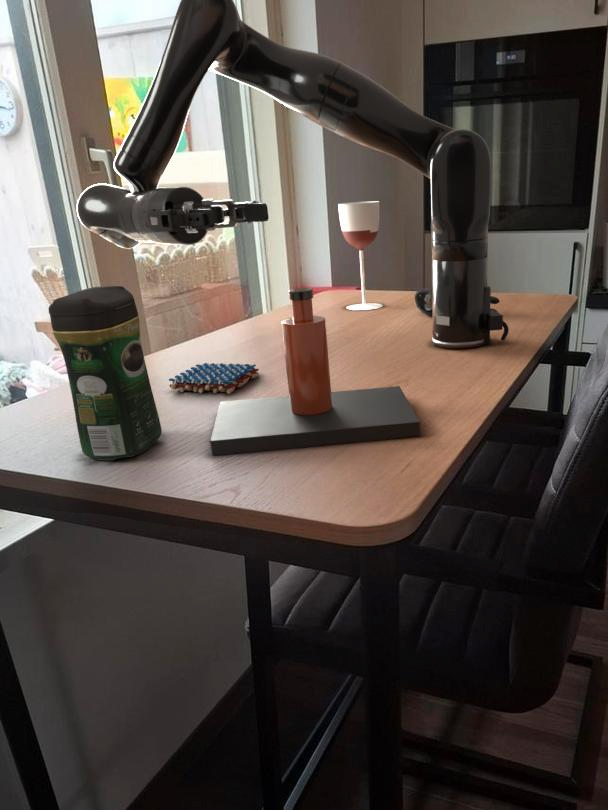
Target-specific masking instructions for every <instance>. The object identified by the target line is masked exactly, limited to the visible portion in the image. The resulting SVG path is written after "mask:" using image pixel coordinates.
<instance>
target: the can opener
mask: <svg viewBox="0 0 608 810" xmlns="http://www.w3.org/2000/svg"><path fill="white" fill-rule="evenodd" d="M414 302H415V305H416V308H417V309H418V310H419V312H421V313H422V314H424V315H426V316H431V317H433V314H432V288H419V289H418V290H416V291H415V294H414ZM499 303H501V300H500V299H499V298H498V297H496V296H492V295H491V298H490V305H492V304H493V305H497V304H499ZM490 310H495V311H497V309H495V308H491V307H490Z"/></svg>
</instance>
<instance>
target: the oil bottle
mask: <svg viewBox="0 0 608 810" xmlns="http://www.w3.org/2000/svg"><path fill="white" fill-rule="evenodd" d="M313 290H314V288H312V287H298V288H297V287H296V288H292V289H289V290H288V300H290V302H291V312H292V317H287V318H285V319H282V320H281V329H282V330H281V331H282V340H283V350H284V359H285V368H286V375H287V376H286V377H287V378H286V379H287V387H288V396H289V398H290V408H291V411H292V412H293V413H295V414H300V415H315V414H320V413H324V412H327V411H329V410H330V409H331V408H332V397H331V392H332V386H331V373H330V359H329V348H328V335H327V323H326V318H325V317H324V316H321V315H314V308H313V307H314V306H313V299H314V291H313Z"/></svg>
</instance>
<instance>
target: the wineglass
mask: <svg viewBox="0 0 608 810" xmlns="http://www.w3.org/2000/svg"><path fill="white" fill-rule="evenodd" d="M337 207H338V217H339V223H340V224H339V225H340V228H341V232H342V237H343V238H344V240H345V241H346V242H347V243H348V244H349V245H351V246H352V247H354V248H355V249H357V250H358V251H359V266H360V282H361V301H362V303H356V304H351V305H348V306H346V309H347V310H351V311H368V310H369V311H371V310H376V309H380V308H383V306H384V305H383V304H382V303H375V302H374V303H372V302H367V295H366V293H367V292H366V275H365V259H364V257H365V256H364V250H365V249H366V248H368V247H369V246H370V245H371V244H372V243H373V242H374V241H375V240H376V238H377V236H378V233H379V227H380V201H379V200H374V201H373V200H370V201H369V200H368V201H366V200H365V201H352V202H342V203H338V204H337Z"/></svg>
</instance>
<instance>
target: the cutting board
mask: <svg viewBox="0 0 608 810" xmlns="http://www.w3.org/2000/svg"><path fill="white" fill-rule="evenodd" d="M331 397H332V408H331V409H330V410H329V411H327V412H324V413H320V414H315V415H300V414H295V413H293V412H292V411H291V408H290V398H289V395H281V396H271V397H270V396H269V397H258V398H249V399H248V398H247V399H236V400H224V401H220V402H219V406H218V409H217V414H216V417H215V420H214V421H215V422H214V425H213V427H212V433H211V437H210V440H209V444H210V450H211V455H212V456H224V455H234V454H235V455H236V454H243V453H244V454H246V453H256V452H266V451H267V452H268V451H276V450H287V449H299V448H307V447H309V448H310V447H321V446H330V445H342V444H352V443H353V444H354V443H363V442H364V443H365V442H372V441H373V442H374V441H382V440H384V441H385V440H395V439H404V438H416V437H420V436H421V421H420V420H419V418H418V415H416V413H415V411H414V409H413V407H412V406H411V403H410V402H409V401H408V398H407V397H406V395H405V393H404V391H403V389H402V388H401V386H400V385H395V386H384V387H373V388H363V389H360V388H359V389H352V390H351V389H350V390H338V391H331Z"/></svg>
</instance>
